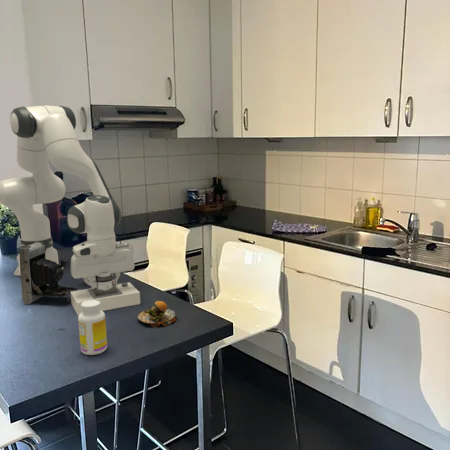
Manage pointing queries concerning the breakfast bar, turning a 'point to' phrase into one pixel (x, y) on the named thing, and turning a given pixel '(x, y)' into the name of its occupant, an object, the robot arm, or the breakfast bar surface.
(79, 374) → the breakfast bar surface
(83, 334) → the supplement bottle
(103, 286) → the lens
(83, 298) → the camera body
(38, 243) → the vintage camera
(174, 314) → the burger
